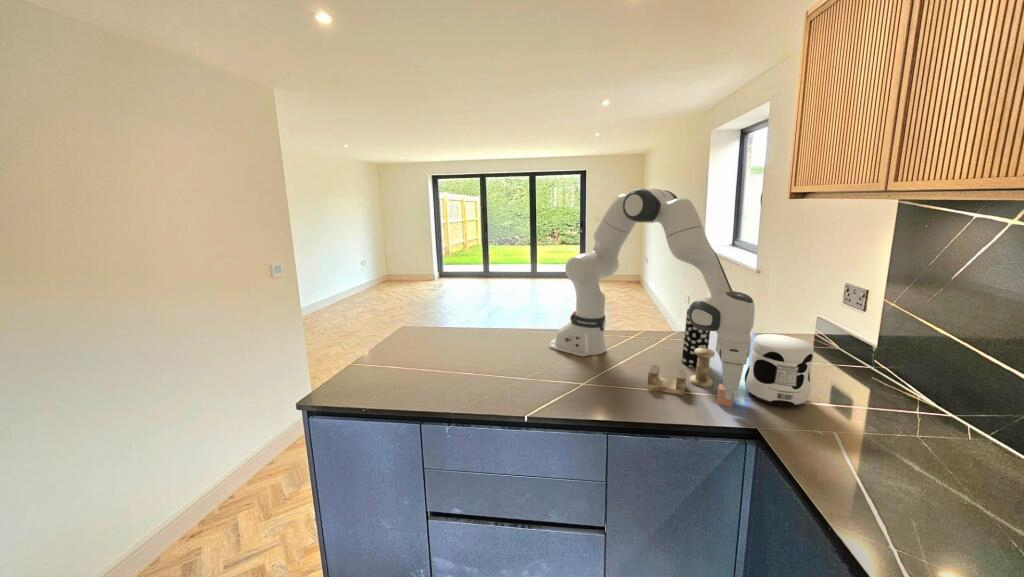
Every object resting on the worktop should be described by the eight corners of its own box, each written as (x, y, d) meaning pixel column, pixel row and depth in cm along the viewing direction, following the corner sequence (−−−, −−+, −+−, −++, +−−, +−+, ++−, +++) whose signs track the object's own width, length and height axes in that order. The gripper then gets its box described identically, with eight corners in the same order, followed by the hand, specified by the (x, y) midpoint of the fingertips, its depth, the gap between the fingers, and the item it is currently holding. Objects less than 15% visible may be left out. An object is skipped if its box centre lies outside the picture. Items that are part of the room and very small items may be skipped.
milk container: (769, 381, 143) (777, 330, 139) (821, 405, 128) (832, 348, 124) (730, 389, 137) (737, 336, 133) (780, 415, 122) (790, 356, 117)
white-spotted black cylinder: (702, 370, 152) (709, 316, 147) (678, 364, 157) (684, 311, 152) (708, 362, 158) (714, 310, 154) (685, 357, 163) (690, 307, 158)
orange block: (717, 404, 128) (719, 389, 126) (717, 398, 131) (719, 383, 130) (732, 407, 126) (734, 391, 125) (731, 401, 130) (733, 386, 128)
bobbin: (688, 384, 140) (692, 353, 138) (690, 376, 147) (693, 346, 144) (712, 388, 138) (716, 356, 135) (712, 380, 144) (716, 349, 141)
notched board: (647, 388, 137) (648, 372, 136) (650, 379, 144) (651, 364, 142) (683, 395, 133) (685, 378, 132) (685, 386, 139) (686, 370, 138)
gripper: (720, 335, 135) (716, 376, 138) (721, 357, 117) (715, 403, 120) (743, 338, 132) (738, 379, 135) (747, 361, 114) (741, 408, 117)
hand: (727, 391), depth 127 cm, fingers open, 8 cm apart
